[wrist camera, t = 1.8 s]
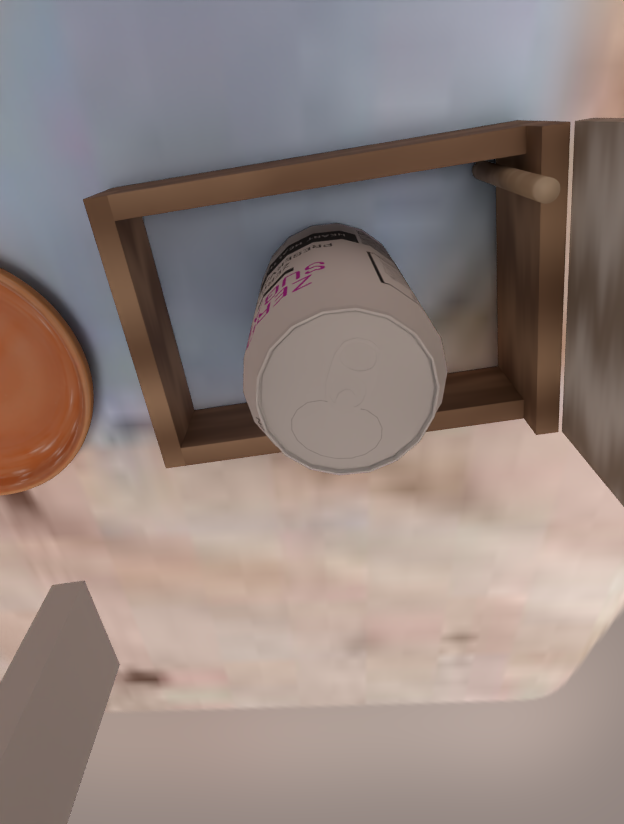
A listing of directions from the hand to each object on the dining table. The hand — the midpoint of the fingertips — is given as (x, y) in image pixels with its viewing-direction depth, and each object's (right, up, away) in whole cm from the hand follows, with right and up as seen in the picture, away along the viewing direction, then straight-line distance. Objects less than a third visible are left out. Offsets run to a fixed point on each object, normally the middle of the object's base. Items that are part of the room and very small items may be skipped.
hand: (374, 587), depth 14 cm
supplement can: (0, +11, +22) cm, 25 cm away
